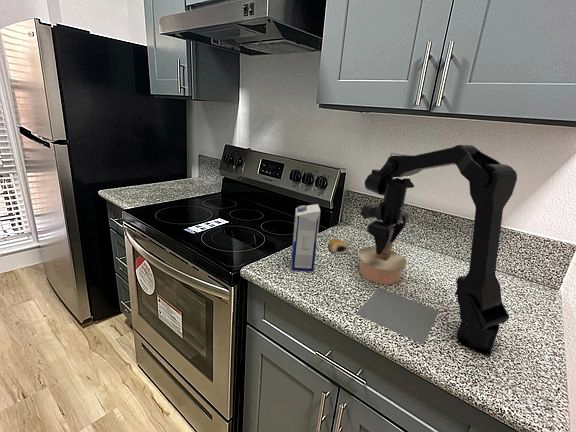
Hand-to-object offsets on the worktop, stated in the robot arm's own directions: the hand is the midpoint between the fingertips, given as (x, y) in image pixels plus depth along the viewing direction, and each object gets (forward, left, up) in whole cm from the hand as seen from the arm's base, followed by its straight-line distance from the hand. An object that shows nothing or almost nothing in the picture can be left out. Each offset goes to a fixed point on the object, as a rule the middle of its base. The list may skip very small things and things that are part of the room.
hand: (384, 249), depth 94 cm
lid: (0, 0, -4) cm, 4 cm away
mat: (-11, +16, -9) cm, 21 cm away
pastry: (+19, -8, -10) cm, 22 cm away
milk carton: (+21, +12, -9) cm, 26 cm away
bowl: (0, 0, -9) cm, 9 cm away
